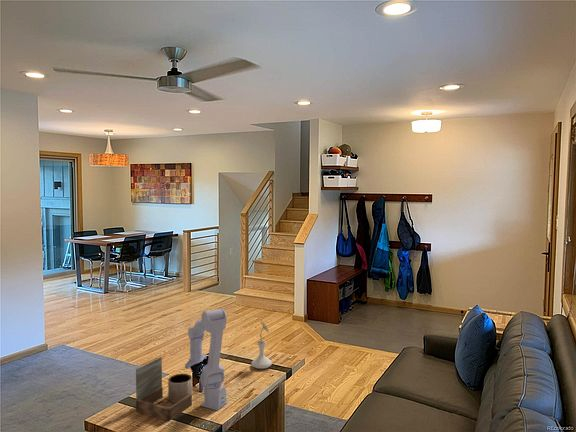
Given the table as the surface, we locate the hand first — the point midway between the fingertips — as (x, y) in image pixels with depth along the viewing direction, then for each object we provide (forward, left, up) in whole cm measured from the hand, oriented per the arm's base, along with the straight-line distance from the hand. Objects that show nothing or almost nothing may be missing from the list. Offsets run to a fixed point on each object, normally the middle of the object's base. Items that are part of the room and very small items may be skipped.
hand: (196, 377), depth 208 cm
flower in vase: (-16, -38, -5) cm, 42 cm away
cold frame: (0, +22, -5) cm, 23 cm away
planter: (0, +12, -5) cm, 13 cm away
